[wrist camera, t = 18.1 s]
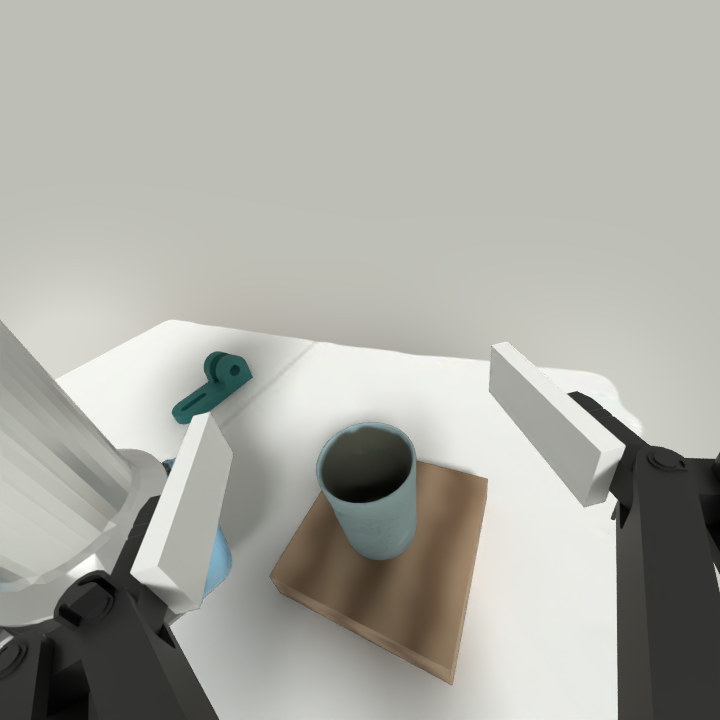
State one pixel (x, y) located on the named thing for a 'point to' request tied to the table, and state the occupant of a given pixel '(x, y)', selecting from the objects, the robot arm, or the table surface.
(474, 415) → the table surface
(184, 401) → the bracket
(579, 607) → the table surface
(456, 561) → the walnut riser
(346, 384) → the table surface
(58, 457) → the robot arm
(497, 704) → the table surface
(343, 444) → the blue green cup
